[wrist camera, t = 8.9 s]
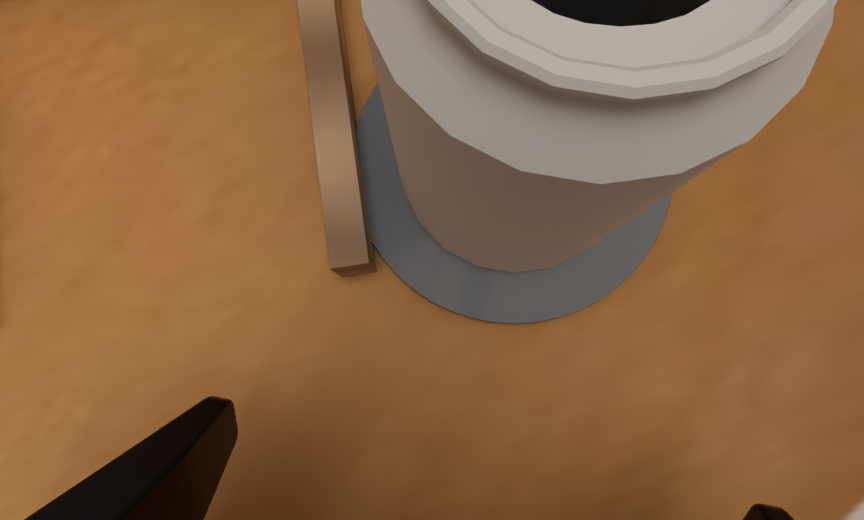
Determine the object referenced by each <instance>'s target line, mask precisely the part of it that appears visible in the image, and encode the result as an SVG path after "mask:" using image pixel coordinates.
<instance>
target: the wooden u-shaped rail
mask: <svg viewBox="0 0 864 520" xmlns="http://www.w3.org/2000/svg"><path fill="white" fill-rule="evenodd" d="M297 3H298V11H299V20H300V28H301V36H302V44H303V52H304V61H305V69H306V77H307V85H308V93H309V101H310V110H311V118H312V126H313V134H314V142H315V150H316V159H317V167H318V175H319V183H320V191H321V199H322V208H323V216H324V224H325V232H326V240H327V248H328V257H329V265H330V269H331V270H333V271H334V272H335V273H337V274H338V275H340V276H341V277H344V276H350V275H357V274H363V273H370V272H376V265H375V257H374V250H373V243H372V241H371V236H370V229H369V222H368V214H367V207H366V199H365V192H364V185H363V177H362V170H361V163H360V155H359V148H358V140H357V133H356V130H357V125H356V118H355V110H354V103H353V95H352V88H351V81H350V73H349V66H348V59H347V51H346V44H345V37H344V29H343V22H342V14H341V7H340V0H297Z"/></svg>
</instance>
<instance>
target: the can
mask: <svg viewBox="0 0 864 520" xmlns="http://www.w3.org/2000/svg"><path fill="white" fill-rule="evenodd" d="M836 2H837V0H361V6H362V14H363V20H364V24H365V29H366V33H367V37H368V41H369V46H370V50H371V54H372V58H373V63H374V67H375V71H376V76H377V80H378V84H379V88H380V93H381V97H382V101H383V105H384V110H385V114H386V118H387V122H388V127H389V131H390V135H391V139H392V144H393V148H394V152H395V157H396V161H397V165H398V169H399V174H400V178H401V182H402V186H403V191H404V193H405V195H406V197H407V199H408V201H409V203H410V205H411V207H412V209H413V211H414V213H415V216H416V218H417V220H418V222H419V223H420V224H421V225H422V226H423V227H424V229H425V230H426V231H427V232H428V233H429V234H430V235H431V236H432V237H433V238H434V239H435V240H436V241H437V242H438V243H439V244H440V245H441V246H442V247H443V248H444V249H445V250H447V251H449V252H451V253H453V254H455V255H457V256H459V257H461V258H463V259H465V260H466V261H468V262H470V263H472V264H474V265H476V266H479V267H485V268H490V269H496V270H502V271H507V272H513V273H515V272H522V271H530V270H537V269H544V268H551V267H553V266H555V265H557V264H559V263H561V262H563V261H565V260H567V259H569V258H571V257H573V256H576V255H578V254H580V253H582V252H584V251H585V250H587V249H588V248H590V247H591V246H593V245H594V244H596V243H597V242H599V241H600V240H602V239H603V238H605V237H606V236H608V235H609V234H611V233H612V232H614V231H615V230H617V229H618V228H620V227H621V226H623V225H624V224H626V223H627V222H628V221H630V220H631V219H633V218H634V217H636V216H637V215H639V214H640V213H642V212H643V211H645V210H646V209H648V208H649V207H651V206H652V205H654V204H655V203H657V202H658V201H660V200H661V199H663V198H664V197H666V196H667V195H669V194H670V193H672V192H673V191H675V190H676V189H678V188H679V187H681V186H682V185H684V184H685V183H687V182H688V181H690V180H691V179H693V178H694V177H696V176H697V175H699V174H700V173H702V172H703V171H705V170H706V169H708V168H709V167H711V166H712V165H714V164H715V163H717V162H718V161H720V160H721V159H723V158H724V157H726V156H727V155H729V154H730V153H731V152H733V151H734V150H736V149H737V148H739V147H740V146H742V145H743V144H745V143H746V142H748V141H749V140H751V139H752V138H753V137H754V136H755V135H756V134H757V133H758V132H759V131H760V130H761V129H762V128H763V127H764V126H765V125H766V124H767V123H768V122H769V121H770V120H771V119H772V118H773V117H774V116H775V115H776V114H777V113H778V112H779V111H780V110H781V109H782V108H783V107H784V106H785V105H786V104H787V103H788V102H789V101H790V100H791V99H792V98H793V97H794V96H795V95H796V94H797V93H798V92H799V91H800V90H801V89H802V88H803V86H804V84H805V82H806V80H807V78H808V76H809V73H810V71H811V69H812V67H813V65H814V63H815V60H816V58H817V56H818V54H819V52H820V50H821V47H822V45H823V43H824V41H825V39H826V37H827V35H828V32H829V30H830V28H831V26H832V24H833V12H834V5H835V4H836Z"/></svg>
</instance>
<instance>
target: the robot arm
mask: <svg viewBox="0 0 864 520" xmlns="http://www.w3.org/2000/svg"><path fill="white" fill-rule="evenodd" d="M237 435H238V428H237V422H236V415H235V409H234V404H233V402H232V401H231V400H229V399H225V398H220V397H215V396H210V397H207V398H205V399H204V400H202V401H201V402H199V403H198V404H196V405H195V406H193V407H192V408H190V409H189V410H187V411H186V412H184V413H183V414H181V415H180V416H178V417H177V418H175V419H174V420H172V421H171V422H169V423H168V424H166V425H165V426H163V427H162V428H160V429H159V430H157V431H156V432H154V433H153V434H151V435H150V436H148V437H147V438H145V439H144V440H142V441H141V442H139V443H138V444H136V445H135V446H133V447H132V448H130V449H129V450H127V451H126V452H124V453H123V454H121V455H120V456H118V457H117V458H115V459H114V460H113V461H111V462H110V463H108V464H107V465H105V466H104V467H102V468H101V469H99V470H98V471H96V472H95V473H93V474H92V475H90V476H89V477H87V478H86V479H84V480H83V481H81V482H80V483H78V484H77V485H75V486H74V487H72V488H71V489H69V490H68V491H66V492H65V493H63V494H62V495H60V496H59V497H57V498H56V499H54V500H53V501H51V502H50V503H48V504H47V505H45V506H44V507H42V508H41V509H39V510H38V511H36V512H35V513H33V514H32V515H30V516H29V517H27V518H26V519H24V520H203V519H204V517H205V515H206V513H207V510H208V508H209V506H210V503H211V501H212V498H213V496H214V494H215V491H216V489H217V486H218V484H219V481H220V479H221V477H222V474H223V472H224V469H225V467H226V465H227V462H228V460H229V457H230V455H231V452H232V450H233V448H234V445H235V443H236V439H237ZM743 520H794V519H793V518H792V517H791V516H790V515H789V514H788V513H787V512H786V511H785V510H783V509H781V508H779V507H775V506H770V505H765V504H755V505H753V506H752V507H751V508H750V510H749V511H748V513H747V514H746V515H745V517H744V518H743Z"/></svg>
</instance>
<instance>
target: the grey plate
mask: <svg viewBox="0 0 864 520" xmlns="http://www.w3.org/2000/svg"><path fill="white" fill-rule="evenodd" d="M356 133H357V140H358V148H359V155H360V163H361V170H362V177H363V185H364V192H365V199H366V207H367V214H368V222H369V229H370V236H371V241H372V243H373V244H374V246H375V247H376V249H377V250H378V252H379V253H380V255H381V256H382V258H383V259H384V261H385V262H386V263H387V264H388V265H389V267H390V268H391V269H392V270H393V271H394V272H395V273H396V274H397V276H398V277H399V278H401V279H402V280H403V281H404V282H405V283H406V284H407V285H409V286H410V287H411V288H412V289H413V290H414V291H416V292H417V293H419V294H420V295H422V296H423V297H425V298H426V299H428V300H429V301H431V302H433V303H435V304H437V305H439V306H441V307H443V308H445V309H447V310H449V311H451V312H454V313H457V314H460V315H463V316H466V317H469V318H472V319H477V320H483V321H488V322H494V323H509V324H518V323H532V322H539V321H544V320H549V319H554V318H558V317H561V316H564V315H567V314H570V313H573V312H576V311H579V310H581V309H583V308H585V307H587V306H589V305H591V304H593V303H595V302H597V301H599V300H600V299H601V298H603V297H604V296H606V295H607V294H609V293H610V292H612V291H613V290H614V289H616V288H617V287H618V286H619V285H620V284H621V283H622V282H624V281H625V280H626V279H627V278H628V277H629V276H630V275H631V274H632V273H633V272H634V271H635V269H636V268H637V267H638V266H639V265H640V263H641V262H642V261H643V260H644V259H645V257H646V255H647V254H648V252H649V251H650V249H651V247H652V246H653V244H654V242H655V241H656V239H657V236H658V234H659V232H660V230H661V227H662V225H663V223H664V220H665V216H666V213H667V209H668V205H669V202H670V194H671V193H670V194H669V195H667V196H666V197H664V198H663V199H661V200H660V201H658V202H657V203H655V204H654V205H652V206H651V207H649V208H648V209H646V210H645V211H643V212H642V213H640V214H639V215H637V216H636V217H634V218H633V219H631V220H630V221H628V222H627V223H626V224H624V225H623V226H621V227H620V228H618V229H617V230H615V231H614V232H612V233H611V234H609V235H608V236H606V237H605V238H603V239H602V240H600V241H599V242H597V243H596V244H594V245H593V246H591V247H590V248H588V249H587V250H585V251H584V252H582V253H580V254H578V255H576V256H573V257H571V258H569V259H567V260H565V261H563V262H561V263H559V264H557V265H555V266H553V267H551V268H544V269H537V270H530V271H522V272H515V273H513V272H507V271H502V270H496V269H490V268H485V267H479V266H476V265H474V264H472V263H470V262H468V261H466V260H465V259H463V258H461V257H459V256H457V255H455V254H453V253H451V252H449V251H447V250H445V249H444V248H443V247H442V246H441V245H440V244H439V243H438V242H437V241H436V240H435V239H434V238H433V237H432V236H431V235H430V234H429V233H428V232H427V231H426V230H425V229H424V227H423V226H422V225H421V224H420V223H419V222H418V220H417V218H416V216H415V213H414V211H413V209H412V207H411V205H410V203H409V201H408V199H407V197H406V195H405V193H404V191H403V186H402V182H401V178H400V174H399V169H398V165H397V161H396V157H395V152H394V148H393V144H392V139H391V135H390V131H389V127H388V122H387V118H386V114H385V110H384V105H383V101H382V97H381V93H380V88H379V84H377V85H376V87H375V88H374V90H373V92H372V93H371V95H370V97H369V99H368V101H367V103H366V105H365V107H364V109H363V112H362V115H361V117H360V120H359V123H358V126H357V130H356Z"/></svg>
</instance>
